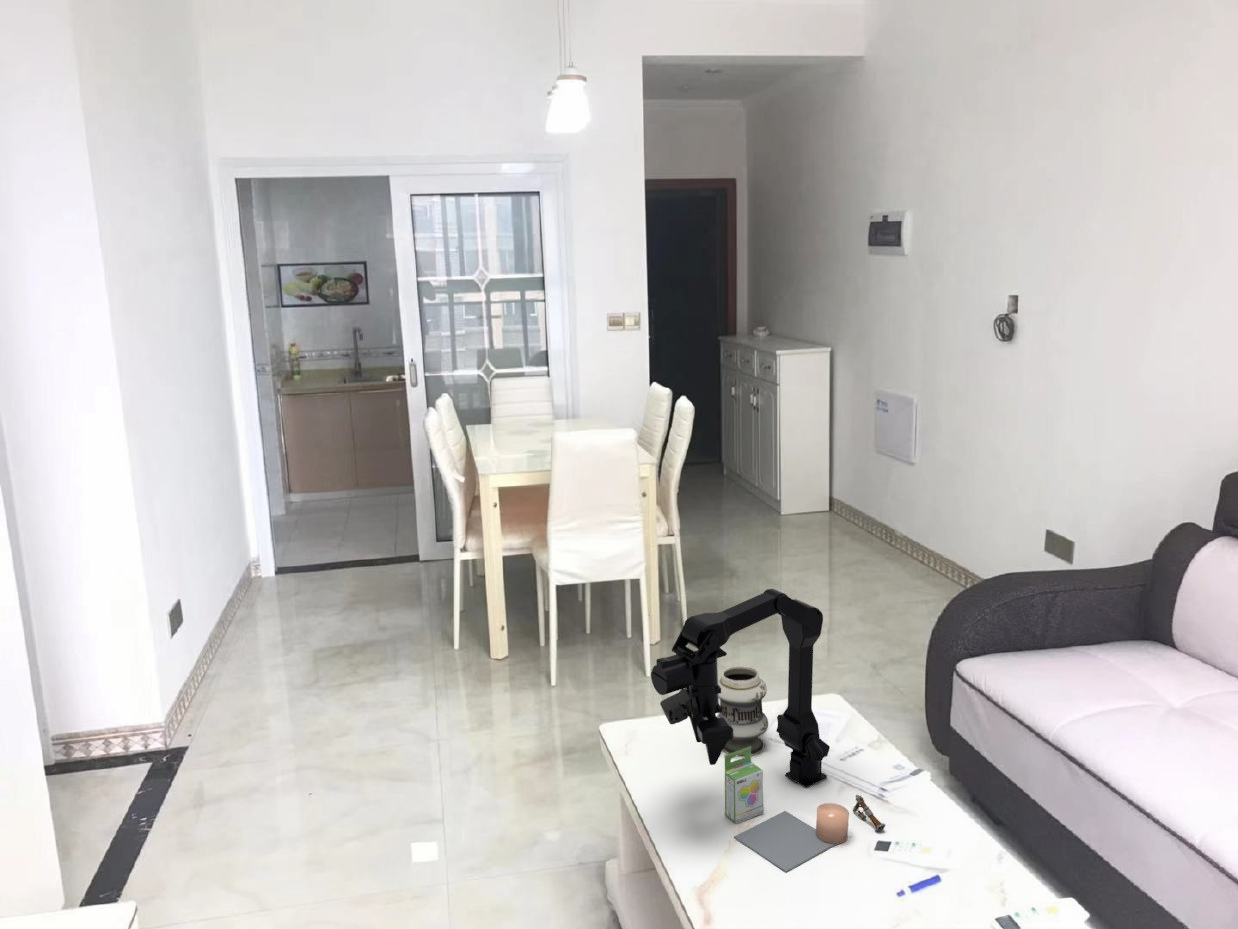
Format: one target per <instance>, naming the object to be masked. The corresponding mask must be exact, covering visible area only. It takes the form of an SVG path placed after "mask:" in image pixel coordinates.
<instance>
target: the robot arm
mask: <svg viewBox="0 0 1238 929" xmlns="http://www.w3.org/2000/svg"><path fill="white" fill-rule="evenodd" d="M777 614H778V615H779V616H780V617H781V626H782V627H781V628H782V631H783V633H784V634H785V637H786V640H787V642H788V676H787V677H788V679H787V680H788V683H787V684H788V686H787V707H786V709H785V710H784V712H783V713H782V714H781V713H780V714H778V715H777V718H776V719H777V721H776V722H777V728H776V730H775V731H776V732H777V733H778V737H779V739H781V740H782V742H783V743H784V746H786V747H787V748H789V749H791V750H792V751H790V759H789V771H787V772H785V774H784V775H785V777H787V778H788V779H790V780H792V781H793V782H795V783H797V784H799V785H801V786H803V787H804V788H809V787H811V786H814V785H816V784H817V783H819V782H822V781H824V780H826V779H827V778H828V775H827V774H825V773H824V772H822V761H823V760H824V758H826V757H828V756H829V752H830V745H829V744H828V743H826V741H824V740H823V739H821V737H820V728H819V723H818V721H817V718H816V716H815V714H814V712H813V709H812V707H813V706H812V704H813V702H812V701H813V673H814V672H813V668H814V666H813V664H814V647H815V646H814V645H815V644H816V643H817V641H818V639H819V638H820V637H821V635H822V628H823V623H824V614H823V612H822V611H821V610H820V609H819V608H817V607H815V606H813V605H810V604H808V603H806V602H804V601H801V600H798V599H797V598H791V597H790V596H788V594H786V593H784V592H782V591H779V590H777V589H774V588H767V589H766V590H764V591H763V593H760V594H758V595H755V596H754V597H751V598H749V599H747V600H744V601H743V602H739V603H737V604H736V605H735V604H734V605H733V606H731V607H729V608H727V609H725V610H722V611H718V612H704V613H700V614H694V615H692V616H690V617H688V618H686V620H685V621H684V624H683V626H682V628H681V630H680V633H679V634H678V637H677V638H676V640H675V642H674V644H673V645H672V648H671V652H672V653H674V654H673V655H670V656H665V657H660V658H657V659H656V664H655V665H654V666H653V667H652V669H651V672H650V679H651V683H652V686H653V688H654V690H655V691H656V692H657V693H658V694H659V696H660V695H661V696H665V695H668V694H671V693H674V692H677V691H678V692H677V693H675V694H673V695H671V696H668V697H666V698H664V699H662V700H661V701H660V703H659V705H660V707H661V709H662V711H663V714H664V716H665V717H666V719H667V721H668V723H669V725H676V724H678V723H681V722H683V721H685V720H687V719H688V718H689V720H690V724H691V728H692V731H693V734H694V738H695V742H697V743H702V745H705V747H706V748H705V750H706V753H707V759H708V763H709V765H710V766H714V765H716V764H717V762H718V760H719V758H720V757H721V755H722V753H723V751H724V750H723V748H724V747H725V745H726V743H727V742H728V741H729V740H732V739H733V738H734V733H733V728H732V726H731V725H730V723H729V722H728V721H727V720H726V719H725V718H723V717H722V718H717V714H719V713H722V707H721V706H720V703H719V702H720V699H719V698H718V694H719V693H721V688H720V686H719V685H718V680H719V679H718V678H719V677H718V676H719V674H718V659H719V658H722V657H723V658H724V657H726V656H727V654H728V653H727V651H725V650H723V649H722V647H723V646H724V645H726V643H728V640H729V639H730V638H731V636H732V635H734V634H735V633H738V632H740V631H742V630H744V629H747V628H749V627H751V626H753V625H754V624H757V623H759V622H762V621H764V620H766V619H768V618H771V617H772V616H774V615H777ZM687 645H690V646H692V647H694V648H696V650H692V649H691V648H689V647H687Z"/></svg>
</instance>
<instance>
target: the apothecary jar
mask: <svg viewBox="0 0 1238 929" xmlns="http://www.w3.org/2000/svg"><path fill="white" fill-rule="evenodd" d="M721 672H722V673H721V677H720V678H719V679H718V685H719V686H720V688H721V693H719V694H718V699H719V702H720V703H719V705H720V706H721V707H722V713H717V714H716V716H717V718H722V717H723V718H725V719H726V720H727V721H728V722H729V723H730V725H731V726H732V728H733V733H734V738H733V739H732V740H729V741H728V742H727V743H726V745H725V747H724V748H723V750H722V751H724V752H725V753H727V754H730V753H733V752H736V751H739V750H741V749H744V748H747V747H750V746H751V756H753V755H755V754H758V753H760V752H761V751H762V750H763V748H764V747H765V746H764V745H765V744H764V742H763V740H762V739H761V738H760V736H762V735H763V734H764V733H765V732H767V730H768V728H769V719H768V717H767V715H766V714H765V713H764V712H763V701H762V700H763V699H764V698H765V696H766V695H767V691H768V688H767V685H766V683H765V681H764V680H763V679H762V678H760V673H759V671H758V670H757V669H756V668H753V667H751V666H747V665H733V666H729V667H725V669H723V670H722V671H721ZM736 757H745V754H741V755H737V756H736Z"/></svg>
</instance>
